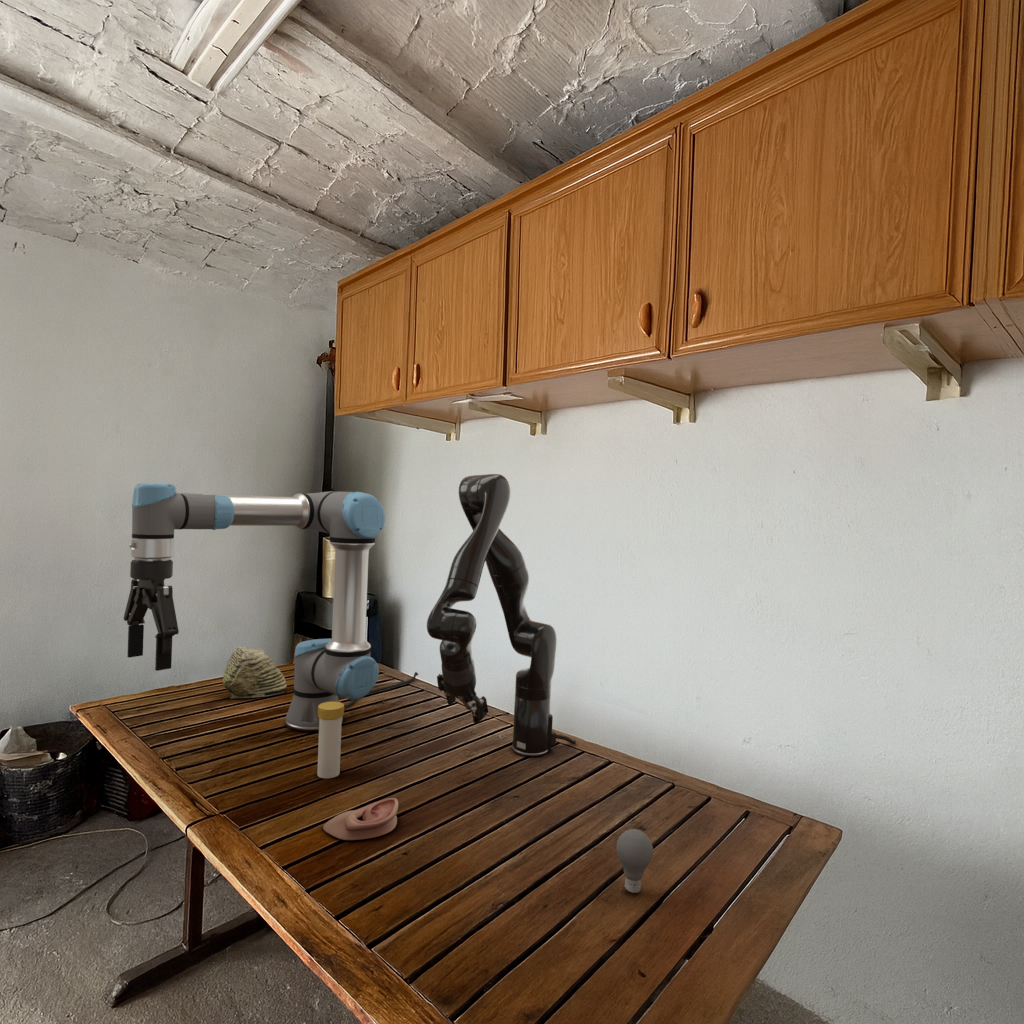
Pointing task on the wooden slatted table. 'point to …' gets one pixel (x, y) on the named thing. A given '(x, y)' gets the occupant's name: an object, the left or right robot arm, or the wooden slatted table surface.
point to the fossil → (252, 674)
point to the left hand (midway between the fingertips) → (148, 662)
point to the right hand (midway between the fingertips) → (464, 711)
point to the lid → (330, 710)
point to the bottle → (329, 747)
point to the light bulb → (634, 857)
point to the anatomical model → (364, 821)
